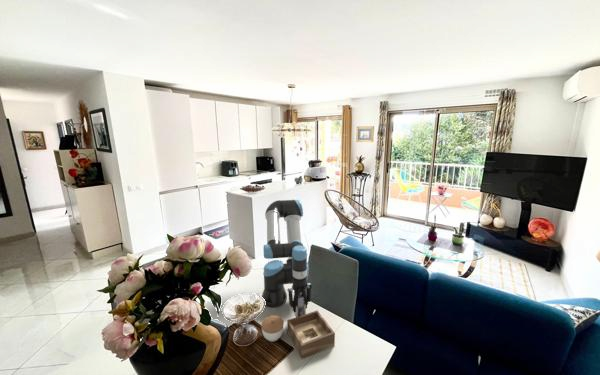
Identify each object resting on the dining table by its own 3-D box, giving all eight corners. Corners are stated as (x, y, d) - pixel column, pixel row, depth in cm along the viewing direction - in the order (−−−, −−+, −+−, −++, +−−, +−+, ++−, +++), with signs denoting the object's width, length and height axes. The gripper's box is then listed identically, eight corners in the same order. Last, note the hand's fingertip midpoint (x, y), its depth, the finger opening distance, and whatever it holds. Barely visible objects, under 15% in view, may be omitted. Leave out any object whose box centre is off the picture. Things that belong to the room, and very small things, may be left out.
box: (287, 332, 125) (287, 320, 124) (317, 321, 132) (317, 310, 131) (301, 359, 110) (301, 345, 109) (334, 345, 117) (334, 333, 116)
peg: (295, 318, 135) (294, 295, 132) (301, 315, 137) (301, 293, 134) (298, 322, 131) (298, 299, 129) (305, 320, 133) (304, 297, 130)
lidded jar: (280, 347, 116) (280, 330, 115) (258, 343, 119) (257, 326, 117) (286, 330, 127) (285, 314, 125) (266, 327, 129) (265, 311, 127)
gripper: (287, 283, 122) (287, 324, 127) (317, 275, 129) (317, 314, 134) (281, 276, 129) (282, 315, 133) (311, 268, 135) (311, 306, 140)
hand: (300, 315), depth 133 cm, fingers closed on peg, 4 cm apart
